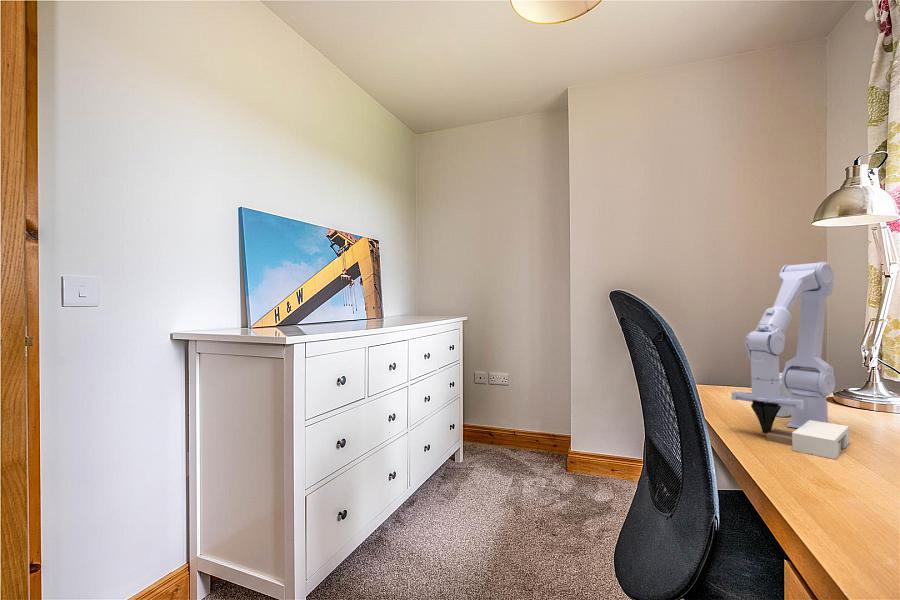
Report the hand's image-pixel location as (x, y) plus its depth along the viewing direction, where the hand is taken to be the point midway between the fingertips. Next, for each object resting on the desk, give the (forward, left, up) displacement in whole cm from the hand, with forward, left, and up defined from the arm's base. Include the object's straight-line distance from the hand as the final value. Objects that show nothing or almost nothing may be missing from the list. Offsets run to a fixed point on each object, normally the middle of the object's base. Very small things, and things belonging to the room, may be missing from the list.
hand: (766, 432), depth 105 cm
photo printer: (-29, -3, -1) cm, 29 cm away
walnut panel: (0, +5, -1) cm, 5 cm away
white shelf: (0, +10, -1) cm, 10 cm away
